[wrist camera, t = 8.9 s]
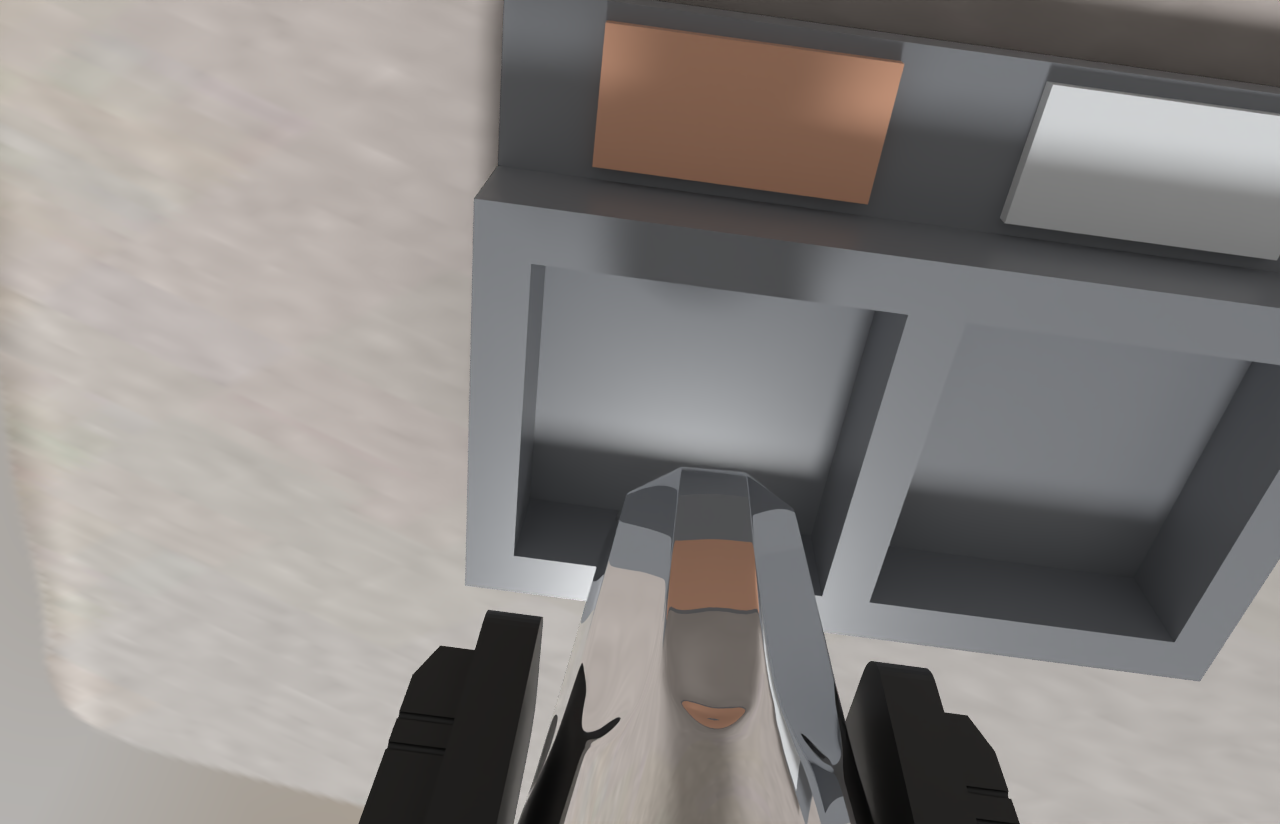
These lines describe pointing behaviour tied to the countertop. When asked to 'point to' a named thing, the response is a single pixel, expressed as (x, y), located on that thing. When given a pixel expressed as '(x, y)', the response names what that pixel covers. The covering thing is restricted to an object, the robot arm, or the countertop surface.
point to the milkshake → (699, 672)
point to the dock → (886, 323)
